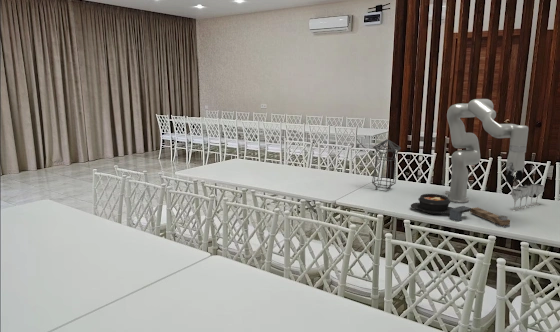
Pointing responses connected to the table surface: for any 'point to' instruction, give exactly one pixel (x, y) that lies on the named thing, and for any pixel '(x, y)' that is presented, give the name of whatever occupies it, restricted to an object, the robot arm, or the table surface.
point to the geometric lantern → (385, 160)
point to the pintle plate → (502, 225)
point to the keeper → (458, 212)
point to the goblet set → (526, 194)
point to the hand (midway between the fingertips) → (514, 181)
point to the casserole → (433, 204)
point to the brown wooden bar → (491, 216)
